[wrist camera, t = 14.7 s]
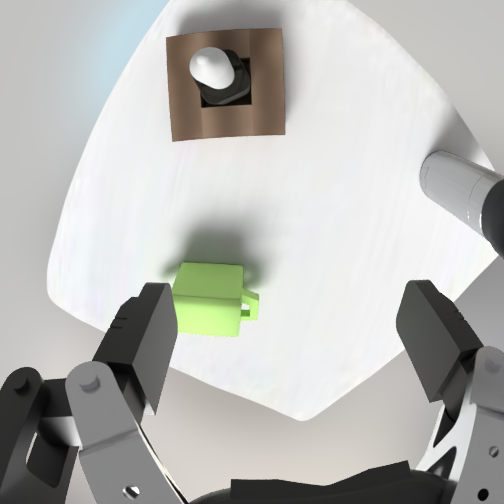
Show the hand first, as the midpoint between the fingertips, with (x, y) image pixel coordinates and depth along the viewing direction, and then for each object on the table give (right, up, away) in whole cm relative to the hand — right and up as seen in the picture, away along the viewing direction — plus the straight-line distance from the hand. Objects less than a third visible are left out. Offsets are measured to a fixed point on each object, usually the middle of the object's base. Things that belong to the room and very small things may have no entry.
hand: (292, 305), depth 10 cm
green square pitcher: (-9, -4, +45) cm, 46 cm away
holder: (-5, +26, +29) cm, 39 cm away
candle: (-5, +25, +28) cm, 38 cm away
